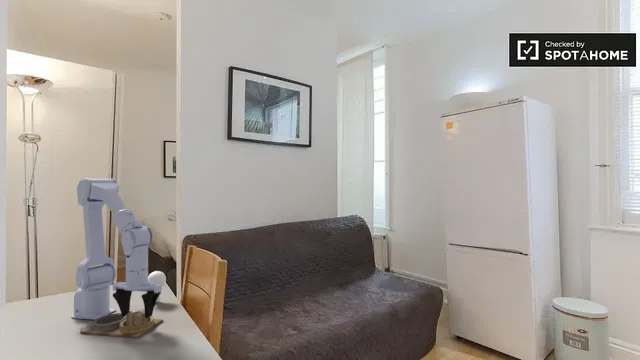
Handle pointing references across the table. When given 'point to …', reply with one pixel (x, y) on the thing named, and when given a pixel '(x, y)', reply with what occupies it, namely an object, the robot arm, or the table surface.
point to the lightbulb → (157, 280)
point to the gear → (136, 318)
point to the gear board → (116, 331)
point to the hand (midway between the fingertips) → (137, 315)
